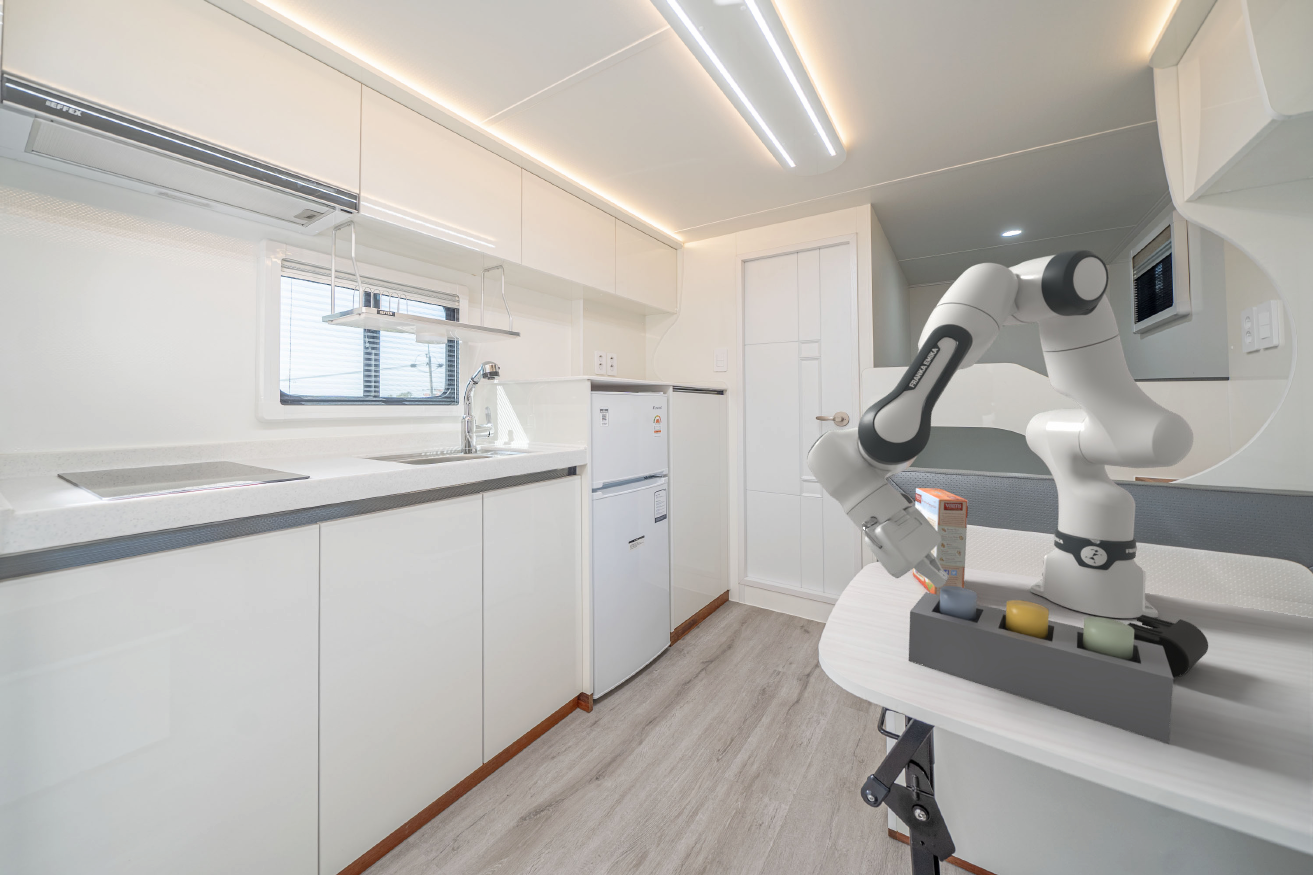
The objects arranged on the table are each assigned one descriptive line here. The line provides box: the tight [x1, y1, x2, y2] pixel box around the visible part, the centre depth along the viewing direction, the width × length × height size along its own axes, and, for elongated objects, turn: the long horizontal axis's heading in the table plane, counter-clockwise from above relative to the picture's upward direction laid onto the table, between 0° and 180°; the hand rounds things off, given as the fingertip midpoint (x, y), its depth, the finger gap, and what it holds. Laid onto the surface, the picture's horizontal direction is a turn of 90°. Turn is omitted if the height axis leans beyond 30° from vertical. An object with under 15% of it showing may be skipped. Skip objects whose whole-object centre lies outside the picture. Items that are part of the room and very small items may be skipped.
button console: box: [908, 591, 1174, 745], centre depth 69 cm, size 10×28×8 cm, turn 48°
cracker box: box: [912, 487, 969, 595], centre depth 104 cm, size 14×6×21 cm, turn 168°
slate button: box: [940, 586, 978, 621], centre depth 75 cm, size 5×5×4 cm
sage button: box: [1083, 616, 1134, 660], centre depth 63 cm, size 5×5×4 cm
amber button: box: [1005, 599, 1050, 639], centre depth 69 cm, size 5×5×4 cm
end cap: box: [1127, 615, 1209, 679], centre depth 72 cm, size 10×7×7 cm
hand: (943, 583), depth 76 cm, fingers closed
